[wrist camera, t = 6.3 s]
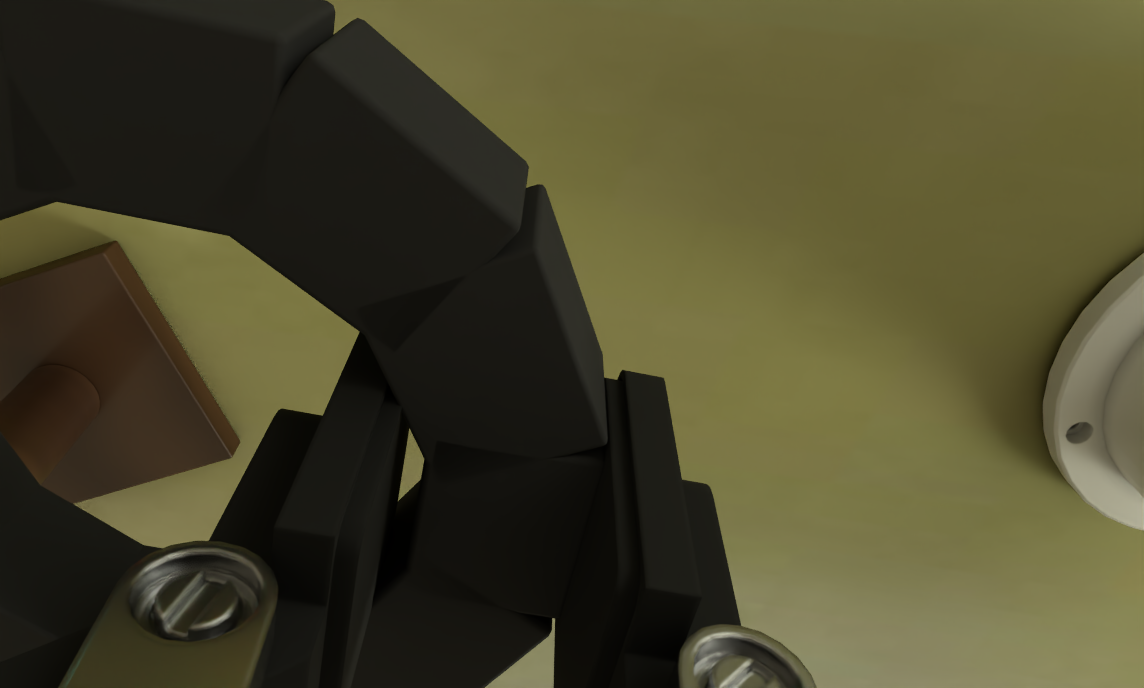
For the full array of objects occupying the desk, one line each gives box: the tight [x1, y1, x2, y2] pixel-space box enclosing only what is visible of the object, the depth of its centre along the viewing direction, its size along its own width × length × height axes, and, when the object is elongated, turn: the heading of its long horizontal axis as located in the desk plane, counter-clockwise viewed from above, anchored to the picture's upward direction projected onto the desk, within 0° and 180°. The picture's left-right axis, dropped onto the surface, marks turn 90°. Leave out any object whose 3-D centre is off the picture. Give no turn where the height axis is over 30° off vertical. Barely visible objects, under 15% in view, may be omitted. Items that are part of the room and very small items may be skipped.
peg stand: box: [0, 241, 240, 504], centre depth 26 cm, size 8×8×9 cm
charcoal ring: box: [0, 0, 608, 688], centre depth 11 cm, size 10×10×2 cm
